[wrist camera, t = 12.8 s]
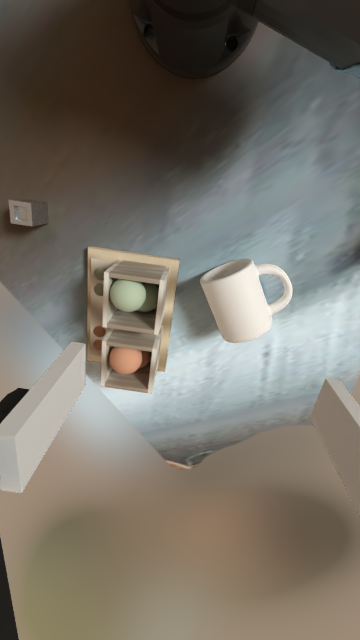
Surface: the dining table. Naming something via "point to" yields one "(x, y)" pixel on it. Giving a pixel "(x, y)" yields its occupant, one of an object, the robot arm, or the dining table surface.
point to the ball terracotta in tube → (145, 358)
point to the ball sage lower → (149, 297)
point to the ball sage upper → (127, 295)
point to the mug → (242, 298)
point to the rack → (129, 314)
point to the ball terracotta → (125, 360)
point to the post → (28, 212)
